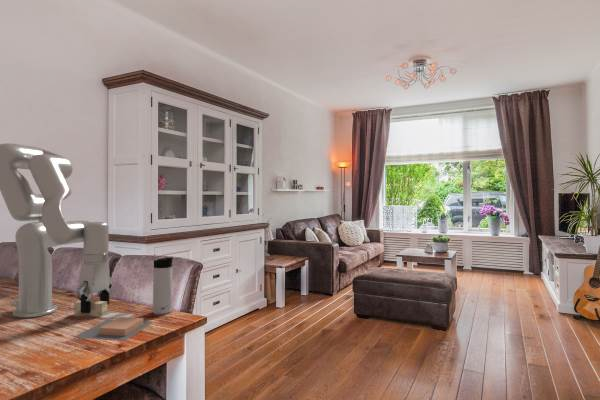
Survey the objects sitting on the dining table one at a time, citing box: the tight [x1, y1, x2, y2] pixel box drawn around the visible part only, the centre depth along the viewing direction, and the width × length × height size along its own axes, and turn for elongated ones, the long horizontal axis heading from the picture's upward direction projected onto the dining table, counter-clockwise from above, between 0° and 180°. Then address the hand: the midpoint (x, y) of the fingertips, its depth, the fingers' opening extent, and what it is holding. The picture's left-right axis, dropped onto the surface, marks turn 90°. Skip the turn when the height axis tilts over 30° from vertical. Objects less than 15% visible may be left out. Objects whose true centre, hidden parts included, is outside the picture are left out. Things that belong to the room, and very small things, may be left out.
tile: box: [100, 317, 144, 336], centre depth 115 cm, size 2×10×8 cm
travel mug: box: [152, 256, 174, 316], centre depth 132 cm, size 6×7×20 cm
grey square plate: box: [73, 318, 154, 342], centre depth 115 cm, size 16×16×1 cm
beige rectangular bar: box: [73, 300, 134, 320], centre depth 128 cm, size 19×5×5 cm, turn 83°
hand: (95, 308), depth 128 cm, fingers open, 9 cm apart
